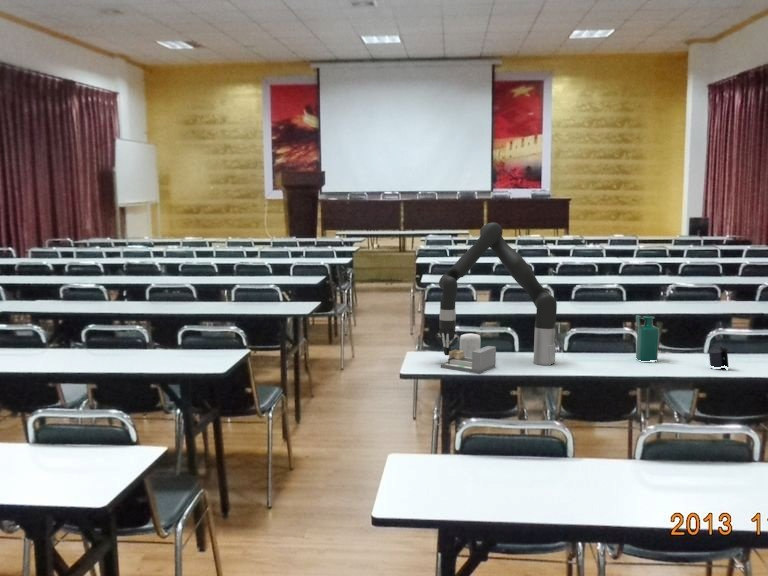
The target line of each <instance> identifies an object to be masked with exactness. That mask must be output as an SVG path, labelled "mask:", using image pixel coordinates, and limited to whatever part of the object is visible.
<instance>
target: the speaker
mask: <svg viewBox="0 0 768 576" xmlns="http://www.w3.org/2000/svg"><path fill="white" fill-rule="evenodd" d="M708 355H709V356H708V357H709V365H711V366H714V367H721V366H724V365H725V366H727V367H729V356H728V355H729V354H728V348H726V347H722V346H719V349H711V350H709V351H708Z"/></svg>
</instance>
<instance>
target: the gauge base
mask: <svg viewBox="0 0 768 576" xmlns="http://www.w3.org/2000/svg"><path fill="white" fill-rule="evenodd" d="M496 353H497V347H496V346H493V345H492V346H491V345H486V346H484V347H480V349H478V350H475V351H473V352H472V358H468V357H464V361H461V360H454V359H452V360H450V364H448V361H446V362H444V363H441V364H440V368H442V369H448V370H454V371H460V372H466V373H473V374H477V375H478V374H482V373H486V372H487V371H490V370H492V369H494V368H496V366H497V365H496V363H497V361H496V360H497V359H496V358H497V354H496Z"/></svg>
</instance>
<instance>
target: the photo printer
mask: <svg viewBox="0 0 768 576" xmlns="http://www.w3.org/2000/svg"><path fill="white" fill-rule="evenodd" d="M478 349H481V335H480V334H476V333H464V334H461V335H460V339H459V350H462V351H465V353H464V357H468V358H472V352H473V351H475V350H478Z"/></svg>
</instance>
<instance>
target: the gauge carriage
mask: <svg viewBox="0 0 768 576" xmlns="http://www.w3.org/2000/svg"><path fill="white" fill-rule="evenodd" d="M464 353H465V351H462V350H460V349H453V350H451V351H449V355H448V359H447V362H448V364H450V360H452V359H454V360H461V361H464Z"/></svg>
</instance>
